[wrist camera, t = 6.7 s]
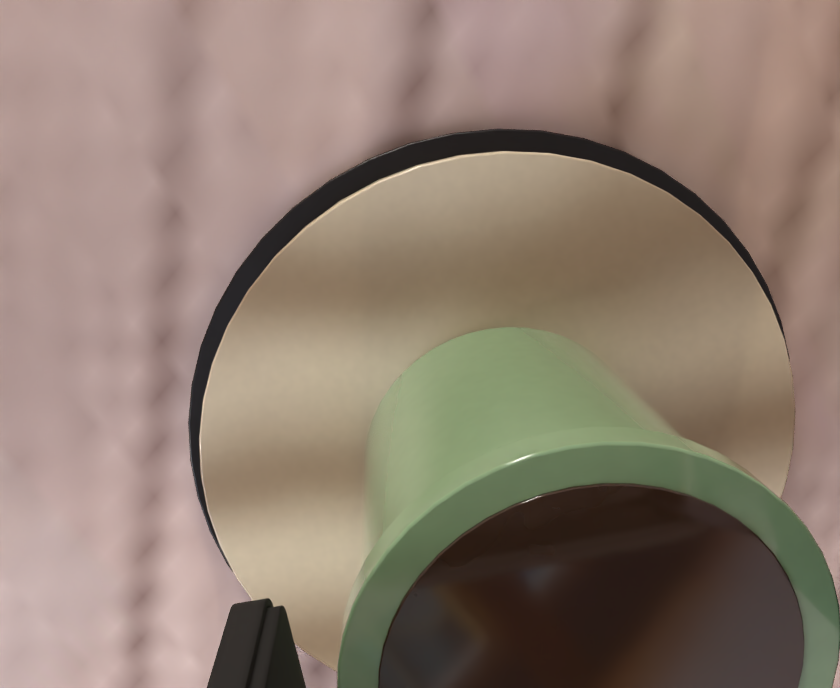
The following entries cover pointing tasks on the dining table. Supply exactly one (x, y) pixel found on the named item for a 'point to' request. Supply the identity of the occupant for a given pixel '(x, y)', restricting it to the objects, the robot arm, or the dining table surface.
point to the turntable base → (391, 165)
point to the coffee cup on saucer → (517, 441)
